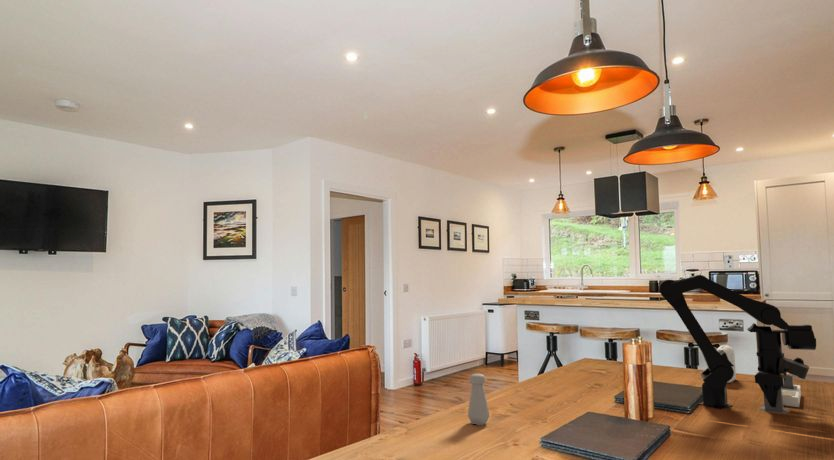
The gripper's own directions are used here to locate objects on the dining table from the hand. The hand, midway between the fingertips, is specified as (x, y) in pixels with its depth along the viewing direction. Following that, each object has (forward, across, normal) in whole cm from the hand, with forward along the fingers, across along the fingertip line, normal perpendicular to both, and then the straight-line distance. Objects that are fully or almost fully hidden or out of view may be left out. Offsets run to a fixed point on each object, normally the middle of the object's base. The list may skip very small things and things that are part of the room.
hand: (773, 405), depth 138 cm
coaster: (+2, 0, 0) cm, 2 cm away
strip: (+2, +23, -2) cm, 24 cm away
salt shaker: (+2, -56, +62) cm, 83 cm away
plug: (+1, 0, 0) cm, 1 cm away
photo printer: (+2, +35, +16) cm, 38 cm away
